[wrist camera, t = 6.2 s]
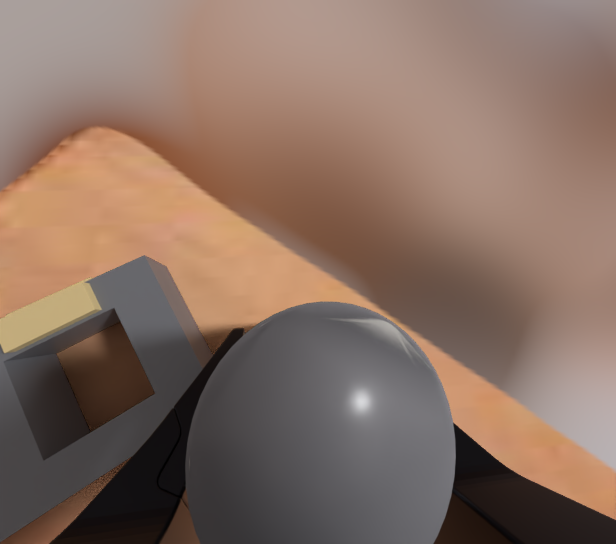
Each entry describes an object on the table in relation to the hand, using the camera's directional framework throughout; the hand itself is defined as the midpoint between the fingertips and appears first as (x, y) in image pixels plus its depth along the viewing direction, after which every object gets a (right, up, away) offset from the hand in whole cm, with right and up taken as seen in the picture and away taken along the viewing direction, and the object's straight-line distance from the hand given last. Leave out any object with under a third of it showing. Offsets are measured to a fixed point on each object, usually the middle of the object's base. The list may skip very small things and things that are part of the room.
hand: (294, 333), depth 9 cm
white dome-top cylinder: (-1, -3, +6) cm, 7 cm away
